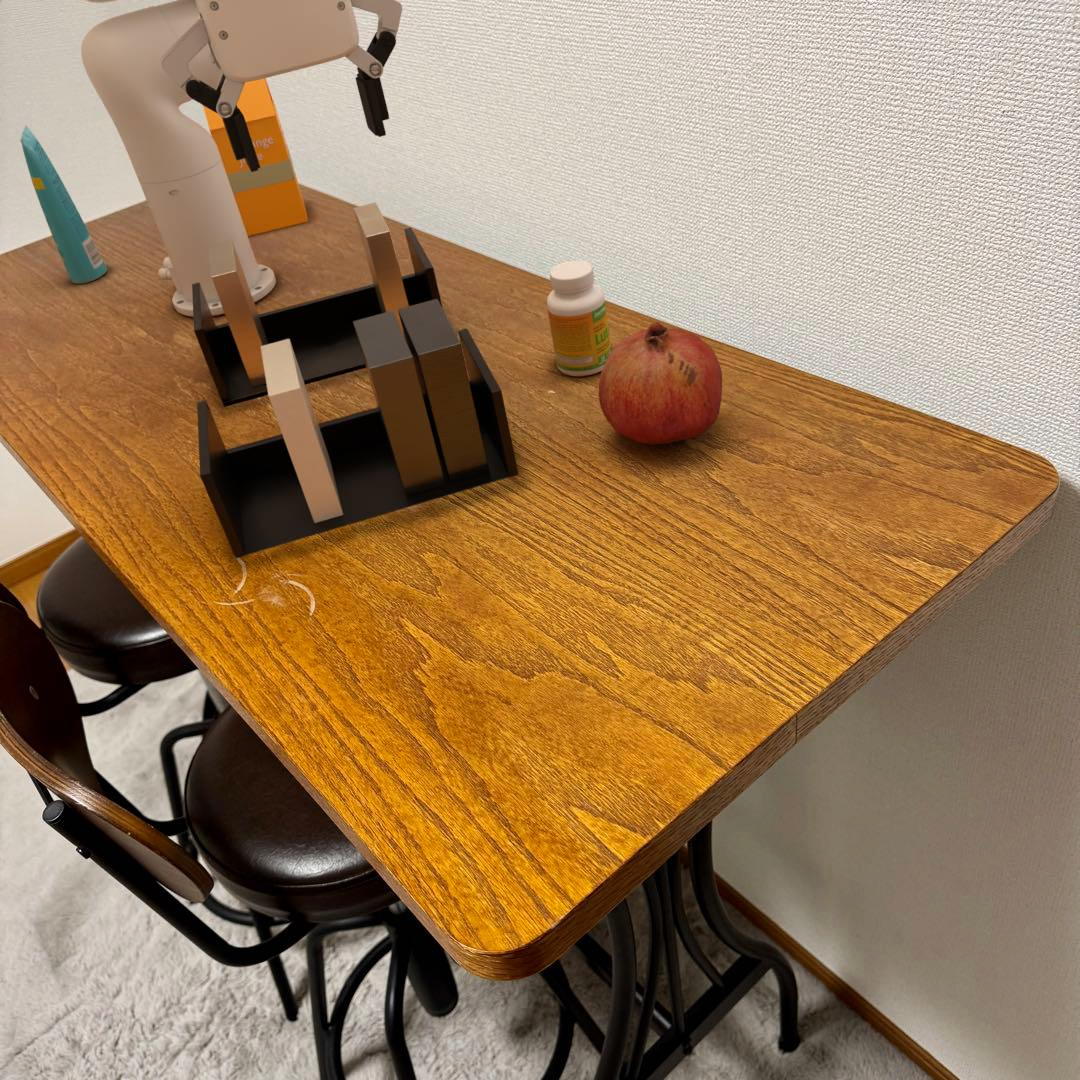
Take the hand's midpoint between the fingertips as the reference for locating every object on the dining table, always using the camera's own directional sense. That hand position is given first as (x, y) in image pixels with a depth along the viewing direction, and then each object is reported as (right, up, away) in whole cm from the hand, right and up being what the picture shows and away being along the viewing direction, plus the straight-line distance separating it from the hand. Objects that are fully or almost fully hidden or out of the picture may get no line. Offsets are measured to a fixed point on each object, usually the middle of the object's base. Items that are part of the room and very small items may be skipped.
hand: (316, 149), depth 78 cm
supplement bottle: (+21, -12, +22) cm, 33 cm away
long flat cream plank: (-2, -25, +10) cm, 27 cm away
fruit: (+28, -20, +11) cm, 36 cm away
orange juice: (-20, +16, +69) cm, 73 cm away
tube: (-44, +6, +63) cm, 77 cm away
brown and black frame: (-5, -10, +32) cm, 34 cm away
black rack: (+2, -25, +11) cm, 27 cm away
